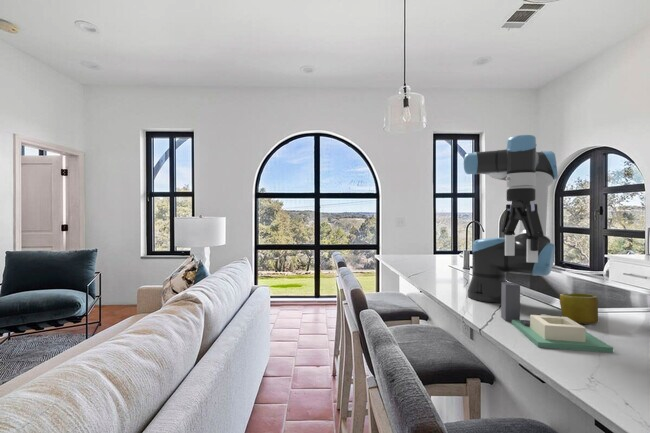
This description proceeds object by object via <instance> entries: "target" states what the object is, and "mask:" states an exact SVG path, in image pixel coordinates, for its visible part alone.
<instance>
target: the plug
mask: <svg viewBox="0 0 650 433" xmlns="http://www.w3.org/2000/svg"><path fill="white" fill-rule="evenodd" d="M500 305H501V306H500V307H501V308H500V309H501V310H500V314H501V315H500V318H501V319H503V321H505V322H512V320H521V285H520V284H519V283H517V282H508V281H506V282H502V290H501V303H500Z"/></svg>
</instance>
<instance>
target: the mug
mask: <svg viewBox="0 0 650 433" xmlns="http://www.w3.org/2000/svg"><path fill="white" fill-rule="evenodd" d="M558 297H559V304H560V309H561V317H568V318H569V319H571V320H573V321H575V322H576V323H578V324H580V325H582V324H583V325H591V324H597V323H599V298H598V296H597V295H594V294H589V293H583V292H582V293H578V292H574V293H573V292H572V293H567V292H563V293H562V292H561V293H560V294H559V296H558Z"/></svg>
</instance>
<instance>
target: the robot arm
mask: <svg viewBox="0 0 650 433" xmlns="http://www.w3.org/2000/svg"><path fill="white" fill-rule="evenodd" d="M506 142H507V143H506V149H498V150H488V151H487V150H486V151H474V152H467V153H466V154H465V155H464V158H463V170H464V173H465V174H466V175H487V176H489V177H490V178H492V179H495V180H499V181H500V180H501V181H506V187H507V189H506V201H507V202H511V203H509V204H508V203H507V204H506V205H505V213H504V217H503V222H502V225H501V230H500V231H501V233H503V235H504V237H492V238H491V237H490V238H482V239H476V240H474V241H473V242H472V250H471V253H472V268H471V269H472V278H471V280H470V282H469V284H468V288H467V293H466V294H467V298H470V299H472V300H475V301H479V302H480V301H481V302H486V303H500V304H501V290H502V282H507V278H506V276H507V273H508V274H519V275H528V276H533V277H534V276H541V277H545V276H549V275H550V274H551V272H552V269H553V265H554V259H555V252H556V246H555V244H554V243H552V242H551V239H550V238H549V237H548V236H547V234H546V233H547V220H548V219H547V218H548V217H547V216H548V200H549V199H548V198H549V197H548V194H549V186H551V185H552V184H553V182H554V180H557V179H558V167H557V159H556V154H555V153H554V152H553V151H550V150H546V151H545V150H544V151H543V150H541V151H537V139H536V136H535V135H533V134H520V135H513V136H511V137H509V138H508V139H507V141H506ZM518 224H519V229H518V230H519V231H518V234H516V233H515V230H516V229H517V226H518Z"/></svg>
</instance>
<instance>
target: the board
mask: <svg viewBox="0 0 650 433" xmlns="http://www.w3.org/2000/svg"><path fill="white" fill-rule="evenodd" d="M511 325H513V326H514V327H515V328H516V329H517V330H518V331H519V332H520V333H522V335H524V336H525V337H526V338H527V339H528V340H529V341H530V342H532V343H533V344H534V345H535V346H536V347H537V348H542V349H543V348H545V349H556V350H557V349H559V350H571V351H585V352H597V353H610V354H611V353H612V354H613V353H614V347H613V346H611V345H610V344H608V343H606V342H604V340H601V339H600V338H598V337H596V336H594V335H592V334H591V333H589V332H588V331H587V330H586V327H585V326H583V325H582V324H580V323H579V324H578V323H576V322H575V321H573V320H571V319H569V318H568V317H563V316H557V315H552V314H551V315H550V314H544V313H543V314H540V315H538V314H530V316H529V319H527V320H526V319H520V320H512V321H511Z"/></svg>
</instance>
